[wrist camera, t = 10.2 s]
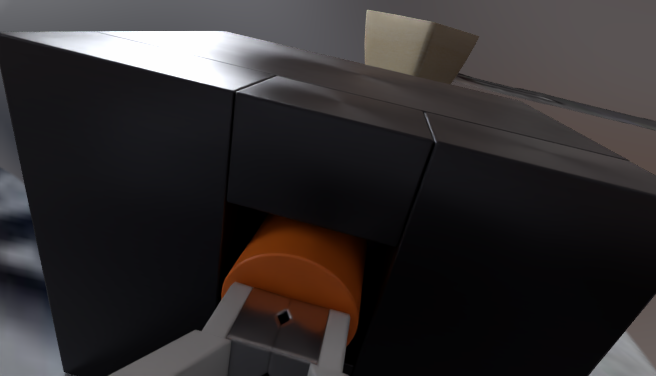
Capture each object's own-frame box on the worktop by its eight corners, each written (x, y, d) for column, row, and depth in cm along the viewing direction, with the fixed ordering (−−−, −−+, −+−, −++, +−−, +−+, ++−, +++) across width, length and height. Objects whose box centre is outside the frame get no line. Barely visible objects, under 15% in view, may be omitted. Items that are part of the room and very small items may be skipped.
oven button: (353, 295, 12) (379, 210, 11) (340, 378, 9) (375, 278, 8) (257, 268, 13) (269, 182, 11) (216, 341, 10) (225, 237, 8)
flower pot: (396, 87, 97) (415, 22, 89) (454, 109, 85) (481, 35, 78) (347, 84, 85) (364, 8, 77) (407, 109, 73) (434, 22, 65)
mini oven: (455, 284, 23) (541, 105, 17) (512, 513, 12) (779, 226, 7) (211, 217, 24) (223, 31, 19) (63, 372, 13) (-10, 30, 8)
